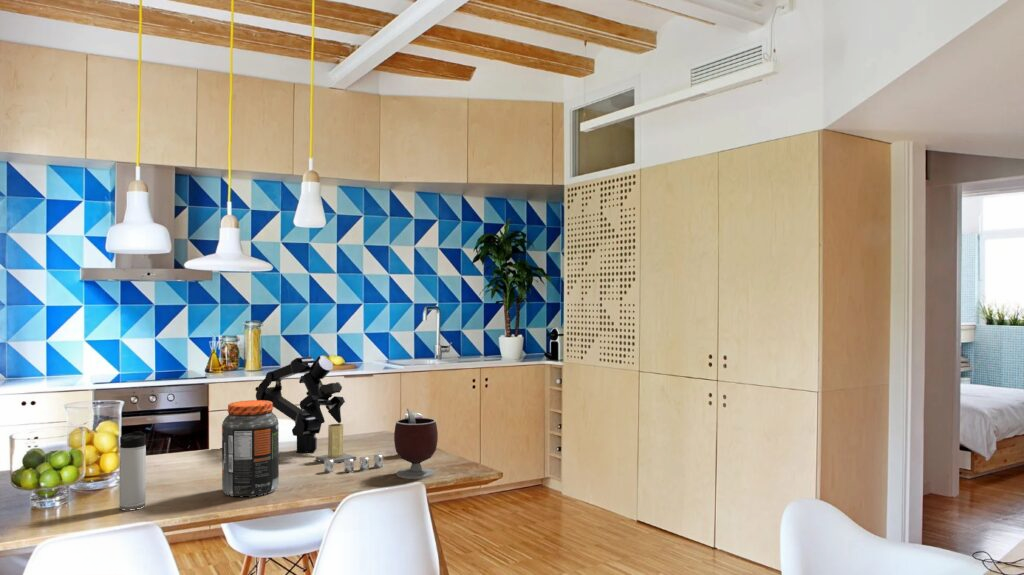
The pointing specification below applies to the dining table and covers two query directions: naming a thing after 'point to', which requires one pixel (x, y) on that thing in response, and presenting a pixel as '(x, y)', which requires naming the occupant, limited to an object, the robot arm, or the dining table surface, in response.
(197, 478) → the dining table surface
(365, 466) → the cylinder
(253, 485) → the supplement tub
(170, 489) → the dining table surface
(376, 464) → the cylinder
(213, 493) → the dining table surface
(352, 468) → the cylinder
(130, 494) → the travel mug
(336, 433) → the tan faceted block
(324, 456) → the coaster
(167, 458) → the dining table surface
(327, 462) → the cylinder
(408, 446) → the mate gourd
